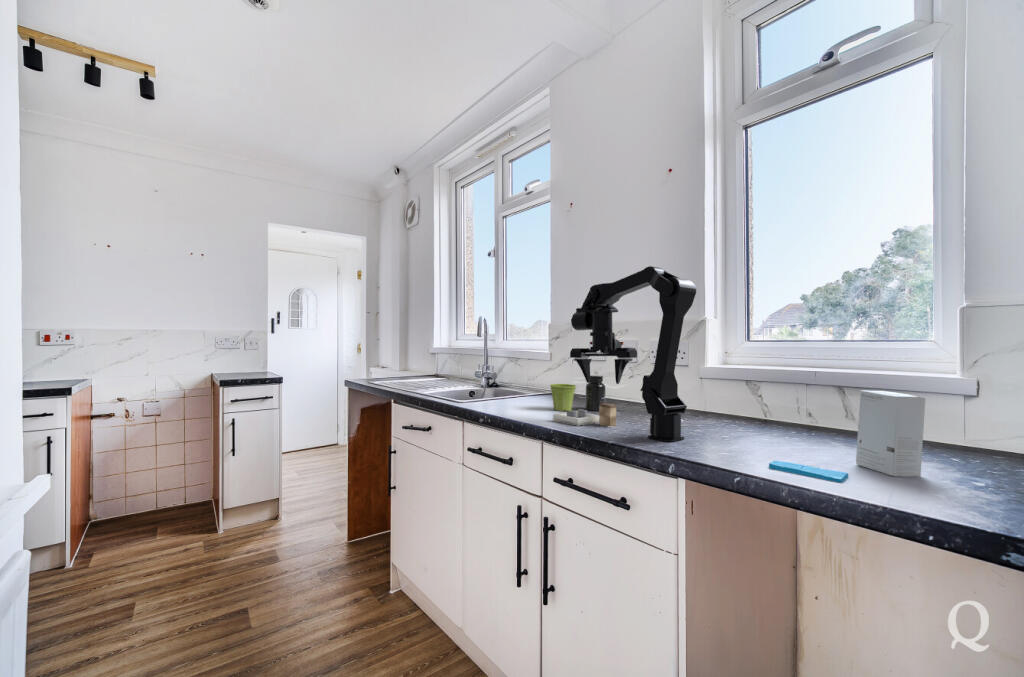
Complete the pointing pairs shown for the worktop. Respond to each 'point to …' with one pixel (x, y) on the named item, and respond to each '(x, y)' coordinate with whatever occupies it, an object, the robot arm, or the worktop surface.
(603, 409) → the wooden block
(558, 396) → the plant pot
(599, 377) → the supplement bottle
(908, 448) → the skincare box
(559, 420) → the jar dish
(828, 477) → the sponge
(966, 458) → the worktop surface
